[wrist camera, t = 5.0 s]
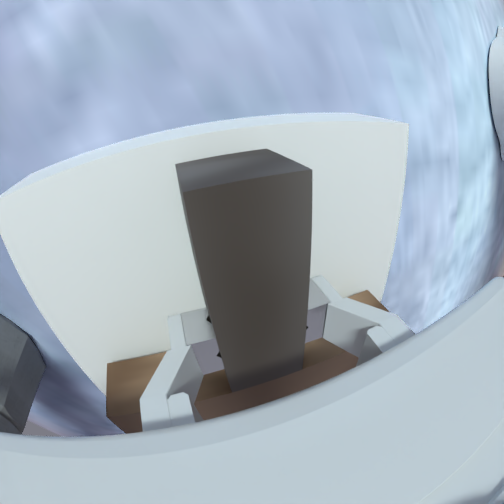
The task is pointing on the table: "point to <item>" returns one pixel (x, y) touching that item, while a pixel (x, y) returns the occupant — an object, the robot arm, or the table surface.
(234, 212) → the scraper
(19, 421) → the coffeepot
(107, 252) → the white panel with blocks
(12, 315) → the table surface
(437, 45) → the table surface
